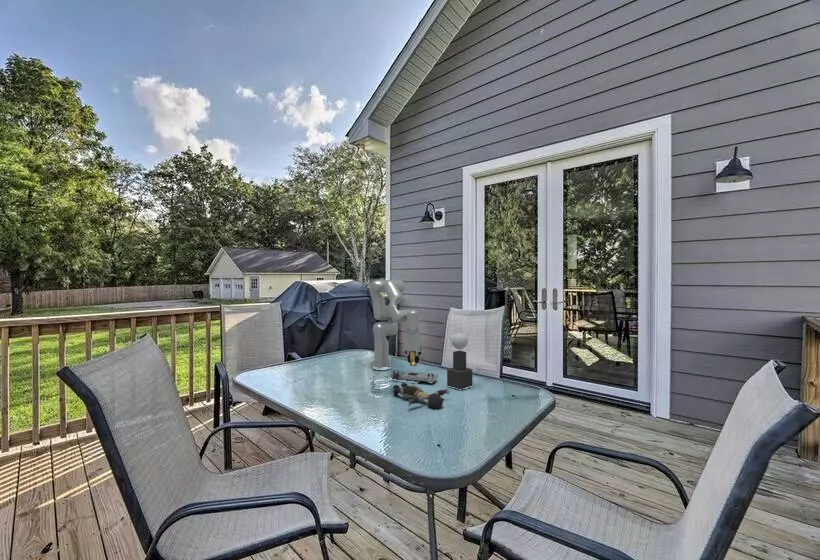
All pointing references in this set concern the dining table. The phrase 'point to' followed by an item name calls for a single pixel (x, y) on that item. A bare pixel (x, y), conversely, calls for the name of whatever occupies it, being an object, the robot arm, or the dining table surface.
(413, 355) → the pin
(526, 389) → the dining table surface
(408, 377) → the grey flat block
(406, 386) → the toy
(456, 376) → the sculpture
